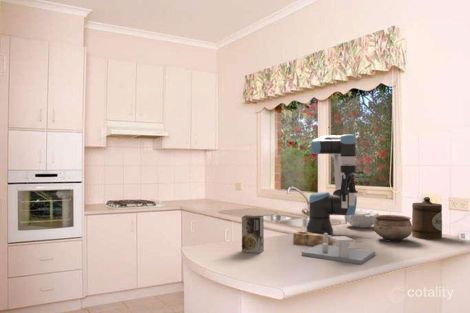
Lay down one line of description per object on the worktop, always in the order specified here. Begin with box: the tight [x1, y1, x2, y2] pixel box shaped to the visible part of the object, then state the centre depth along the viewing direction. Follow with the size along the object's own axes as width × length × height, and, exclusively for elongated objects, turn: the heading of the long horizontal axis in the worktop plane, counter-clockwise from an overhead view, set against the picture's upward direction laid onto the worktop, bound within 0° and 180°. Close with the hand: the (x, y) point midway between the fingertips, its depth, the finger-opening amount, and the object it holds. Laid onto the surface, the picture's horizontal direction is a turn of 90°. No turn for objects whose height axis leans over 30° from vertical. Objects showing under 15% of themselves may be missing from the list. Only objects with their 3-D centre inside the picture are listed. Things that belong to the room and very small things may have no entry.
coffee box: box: [241, 214, 265, 254], centre depth 179 cm, size 9×6×16 cm
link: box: [292, 231, 334, 246], centre depth 194 cm, size 18×7×5 cm, turn 55°
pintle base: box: [301, 233, 376, 265], centre depth 171 cm, size 26×21×9 cm
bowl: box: [344, 209, 380, 229], centre depth 244 cm, size 21×20×10 cm
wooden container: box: [411, 196, 443, 240], centre depth 214 cm, size 15×15×22 cm
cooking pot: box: [373, 214, 413, 243], centre depth 204 cm, size 25×19×12 cm
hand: (348, 206), depth 197 cm, fingers open, 13 cm apart
